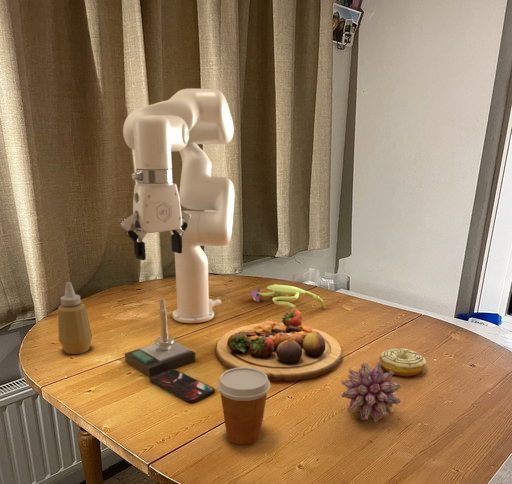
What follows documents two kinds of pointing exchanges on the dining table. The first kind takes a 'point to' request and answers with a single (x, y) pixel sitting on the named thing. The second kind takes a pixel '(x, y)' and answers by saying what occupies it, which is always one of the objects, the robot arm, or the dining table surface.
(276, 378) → the wooden plate
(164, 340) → the screw
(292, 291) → the figurine
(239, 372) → the disposable coffee cup
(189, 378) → the smartphone
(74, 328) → the squeeze bottle
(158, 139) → the robot arm
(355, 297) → the dining table surface
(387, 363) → the decorated donut
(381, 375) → the flower
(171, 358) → the scale
